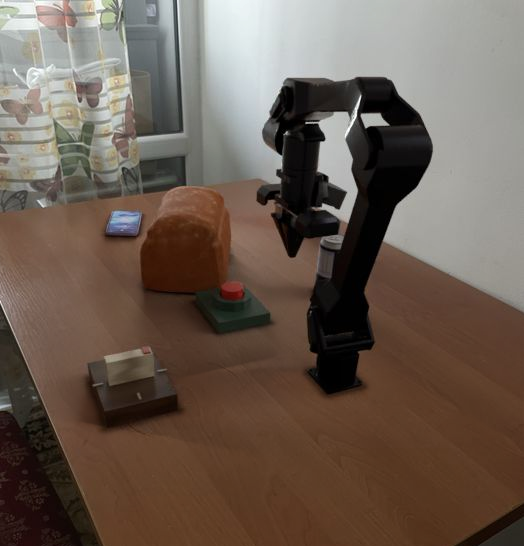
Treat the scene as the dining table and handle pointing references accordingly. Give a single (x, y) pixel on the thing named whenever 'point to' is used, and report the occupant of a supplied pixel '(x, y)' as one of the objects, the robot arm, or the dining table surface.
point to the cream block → (129, 366)
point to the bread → (187, 242)
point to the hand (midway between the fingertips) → (291, 256)
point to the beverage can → (328, 256)
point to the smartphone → (124, 223)
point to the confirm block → (232, 310)
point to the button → (232, 290)
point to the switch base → (132, 395)
